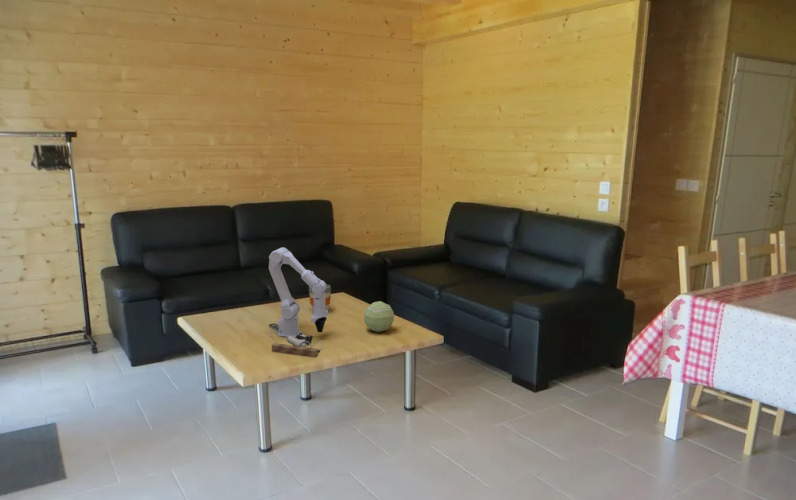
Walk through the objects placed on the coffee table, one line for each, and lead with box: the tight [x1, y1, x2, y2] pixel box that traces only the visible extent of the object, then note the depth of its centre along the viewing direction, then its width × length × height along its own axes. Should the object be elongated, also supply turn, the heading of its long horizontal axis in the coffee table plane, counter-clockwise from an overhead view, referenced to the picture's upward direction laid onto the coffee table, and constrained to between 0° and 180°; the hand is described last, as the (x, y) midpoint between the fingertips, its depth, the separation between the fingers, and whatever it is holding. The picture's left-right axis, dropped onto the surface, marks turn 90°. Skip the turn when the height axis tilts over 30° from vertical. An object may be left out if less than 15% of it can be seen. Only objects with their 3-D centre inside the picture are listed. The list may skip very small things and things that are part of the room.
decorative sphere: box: [363, 300, 395, 333], centre depth 295 cm, size 15×15×15 cm
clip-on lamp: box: [286, 332, 324, 353], centre depth 270 cm, size 12×6×18 cm
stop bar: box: [271, 342, 319, 358], centre depth 264 cm, size 22×3×3 cm, turn 71°
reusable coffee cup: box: [308, 283, 332, 314], centre depth 326 cm, size 13×12×15 cm
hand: (320, 331), depth 286 cm, fingers closed
